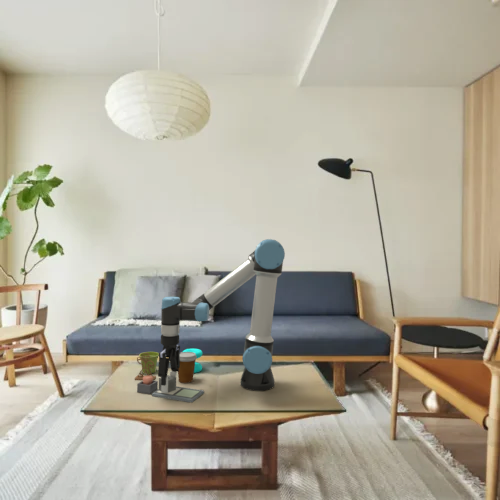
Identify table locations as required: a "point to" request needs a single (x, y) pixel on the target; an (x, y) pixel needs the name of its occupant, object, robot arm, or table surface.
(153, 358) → the plant pot
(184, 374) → the disposable coffee cup
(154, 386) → the button housing
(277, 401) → the table surface
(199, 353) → the donuts
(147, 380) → the button
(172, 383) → the dice cube
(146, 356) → the brown scrollwork sculpture
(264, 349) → the robot arm
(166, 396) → the picture board
